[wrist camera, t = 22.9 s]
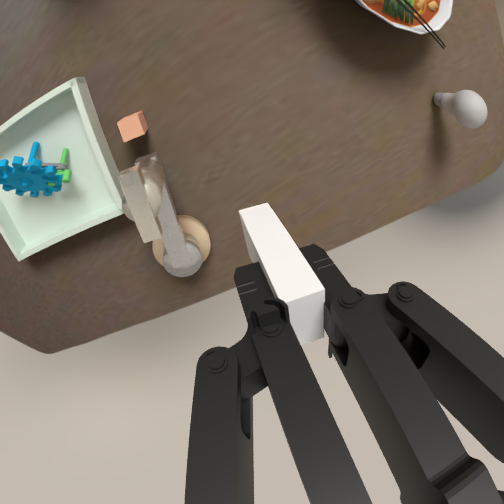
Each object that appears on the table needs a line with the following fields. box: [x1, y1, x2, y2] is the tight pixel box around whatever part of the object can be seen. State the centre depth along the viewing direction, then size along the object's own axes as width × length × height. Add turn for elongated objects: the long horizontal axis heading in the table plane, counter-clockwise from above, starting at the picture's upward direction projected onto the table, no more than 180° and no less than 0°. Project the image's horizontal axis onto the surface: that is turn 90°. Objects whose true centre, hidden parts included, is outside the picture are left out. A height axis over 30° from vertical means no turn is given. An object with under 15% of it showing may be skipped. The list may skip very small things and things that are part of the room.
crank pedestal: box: [152, 215, 211, 266], centre depth 39 cm, size 8×8×2 cm
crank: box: [118, 152, 202, 277], centre depth 29 cm, size 18×5×12 cm, turn 10°
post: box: [117, 111, 148, 142], centre depth 27 cm, size 2×2×4 cm
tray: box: [0, 77, 124, 261], centre depth 27 cm, size 20×18×4 cm
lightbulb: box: [434, 90, 487, 128], centre depth 30 cm, size 6×6×11 cm
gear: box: [0, 142, 72, 198], centre depth 25 cm, size 11×6×10 cm
